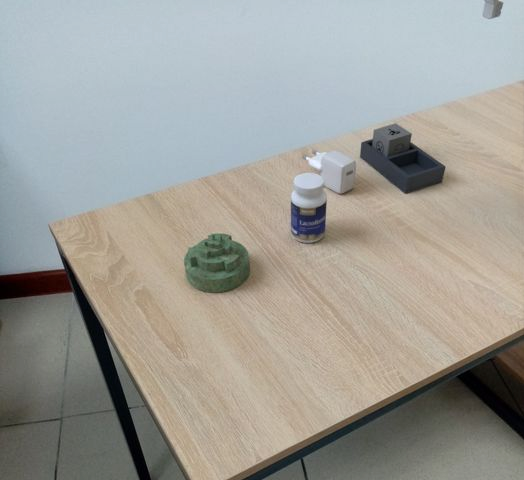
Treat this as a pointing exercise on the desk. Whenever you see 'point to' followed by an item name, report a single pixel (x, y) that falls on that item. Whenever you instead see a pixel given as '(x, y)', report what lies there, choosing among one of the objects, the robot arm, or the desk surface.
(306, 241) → the pill bottle
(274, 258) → the desk surface
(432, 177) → the compartment tray
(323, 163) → the power adapter
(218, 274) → the decorative artifact
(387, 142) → the dice cube
